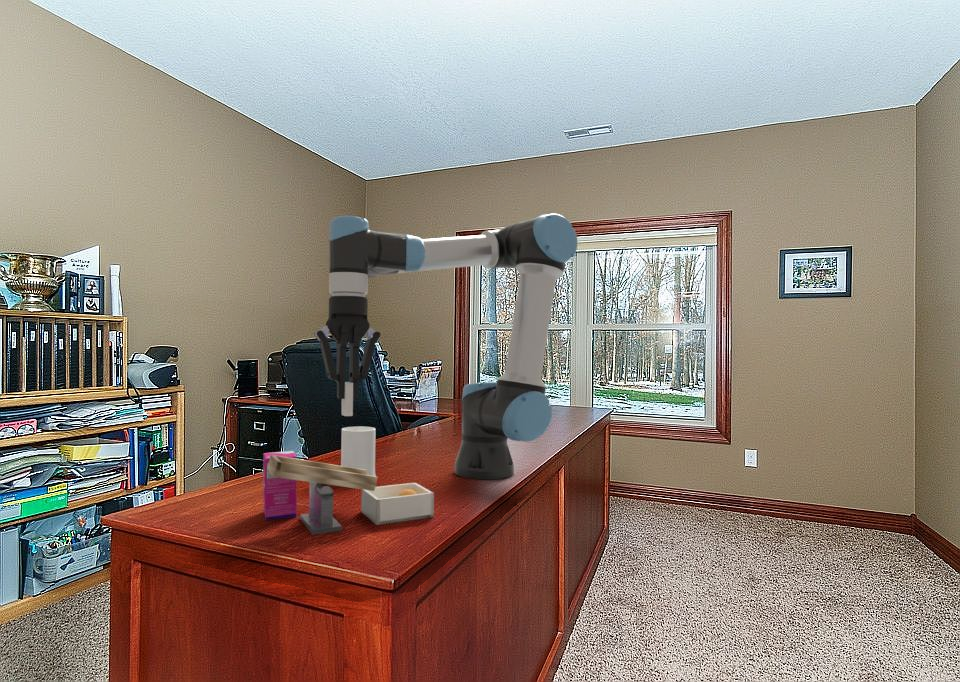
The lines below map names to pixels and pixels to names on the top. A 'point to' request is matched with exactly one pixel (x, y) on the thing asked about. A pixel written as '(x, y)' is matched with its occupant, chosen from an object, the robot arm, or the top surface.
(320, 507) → the fulcrum
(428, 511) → the white storage bin
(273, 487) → the supplement box
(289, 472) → the seesaw
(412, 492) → the ball
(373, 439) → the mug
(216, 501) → the top surface
